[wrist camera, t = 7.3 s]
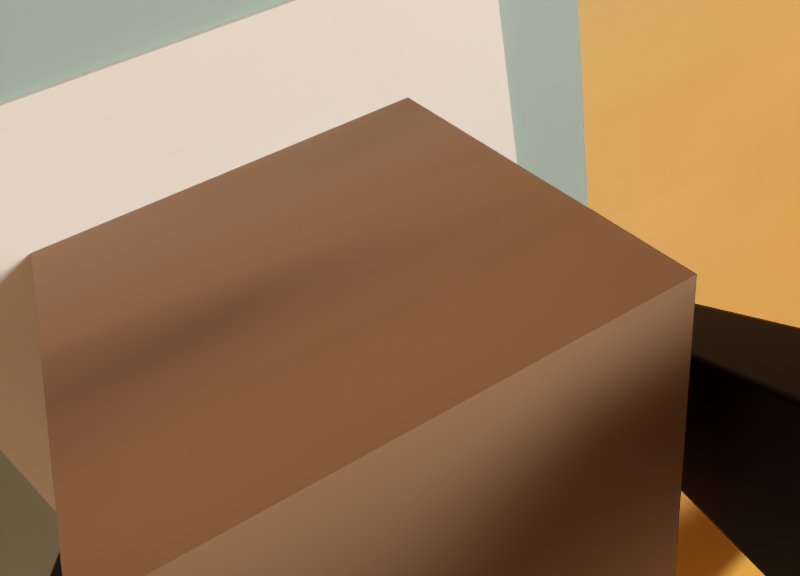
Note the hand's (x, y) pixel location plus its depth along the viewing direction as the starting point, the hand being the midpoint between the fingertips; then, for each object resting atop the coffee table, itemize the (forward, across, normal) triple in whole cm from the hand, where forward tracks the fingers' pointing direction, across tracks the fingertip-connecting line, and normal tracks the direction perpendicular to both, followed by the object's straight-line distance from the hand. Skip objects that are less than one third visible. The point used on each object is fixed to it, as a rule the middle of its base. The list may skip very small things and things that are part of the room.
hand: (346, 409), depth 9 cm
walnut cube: (+2, 0, 0) cm, 2 cm away
